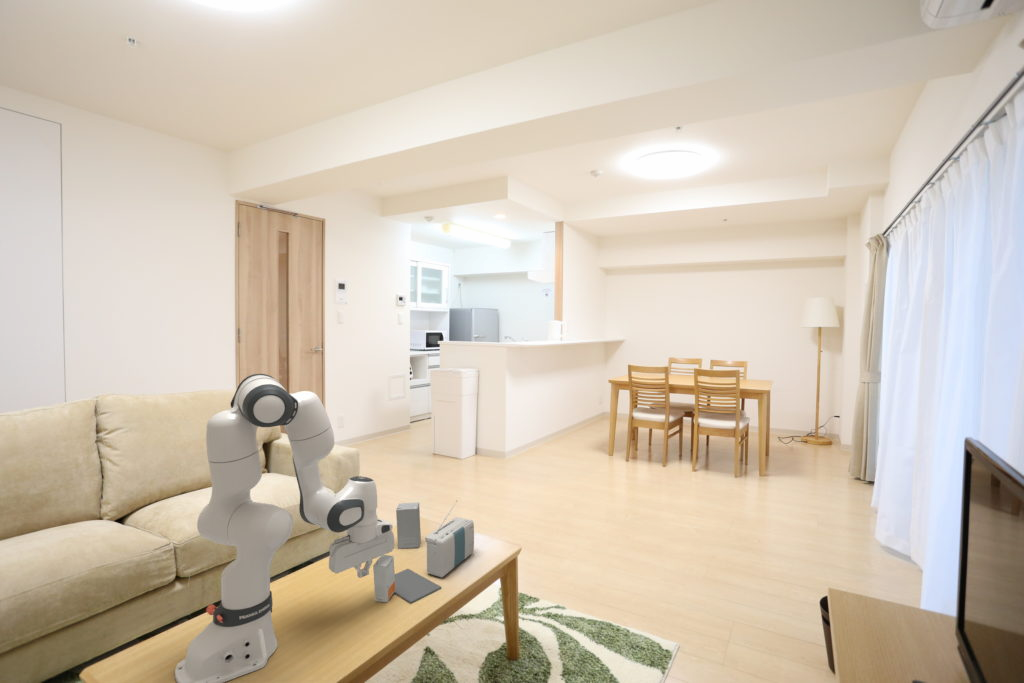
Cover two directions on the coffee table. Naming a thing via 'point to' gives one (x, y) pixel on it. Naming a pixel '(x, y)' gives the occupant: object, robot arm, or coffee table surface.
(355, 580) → the coffee table surface
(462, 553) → the stereo radio cassette player
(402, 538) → the skincare box
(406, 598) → the mat
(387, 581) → the skincare box
